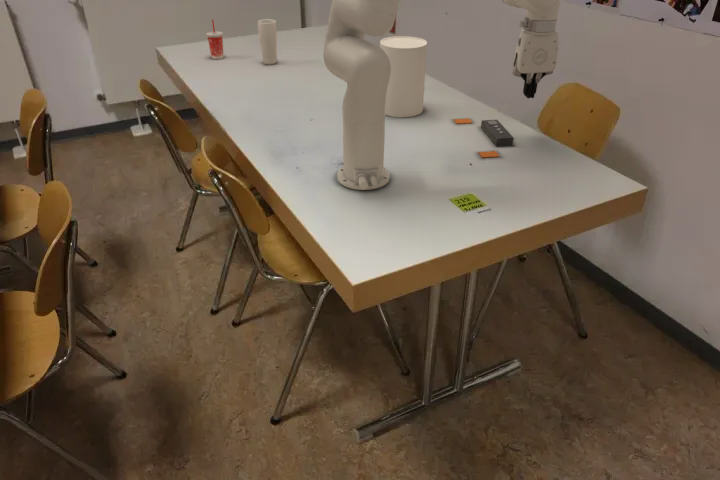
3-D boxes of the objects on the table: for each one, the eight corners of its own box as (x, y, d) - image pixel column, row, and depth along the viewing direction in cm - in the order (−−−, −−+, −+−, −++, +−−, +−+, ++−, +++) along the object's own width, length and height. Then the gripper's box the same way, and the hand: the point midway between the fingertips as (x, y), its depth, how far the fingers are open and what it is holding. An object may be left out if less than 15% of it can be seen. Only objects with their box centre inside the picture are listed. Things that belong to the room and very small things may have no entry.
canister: (371, 104, 178) (372, 38, 167) (411, 99, 182) (414, 34, 171) (388, 119, 168) (391, 50, 157) (430, 113, 172) (435, 45, 161)
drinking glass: (258, 61, 217) (254, 20, 208) (275, 59, 219) (272, 18, 211) (264, 66, 211) (260, 24, 203) (281, 64, 214) (278, 22, 206)
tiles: (499, 157, 147) (499, 155, 147) (482, 158, 146) (482, 157, 146) (469, 119, 168) (469, 118, 168) (453, 120, 168) (454, 119, 168)
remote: (512, 145, 153) (514, 136, 152) (496, 146, 152) (497, 137, 151) (496, 126, 164) (497, 118, 162) (480, 127, 163) (481, 119, 162)
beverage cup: (208, 55, 223) (203, 18, 215) (224, 54, 224) (220, 17, 217) (210, 60, 218) (204, 21, 210) (226, 58, 219) (221, 20, 212)
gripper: (516, 30, 139) (506, 103, 149) (575, 27, 141) (561, 99, 151) (506, 23, 145) (497, 93, 155) (562, 20, 147) (549, 90, 157)
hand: (528, 96), depth 153 cm, fingers closed
